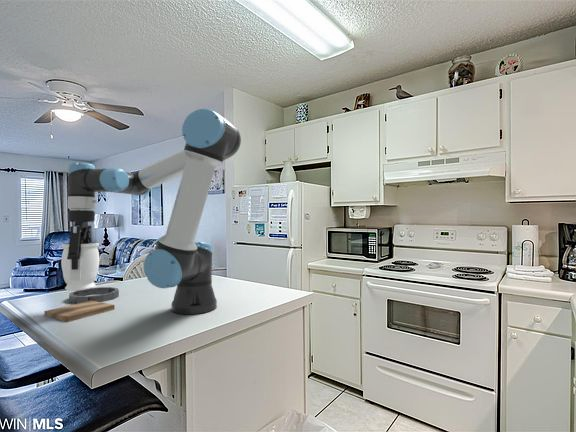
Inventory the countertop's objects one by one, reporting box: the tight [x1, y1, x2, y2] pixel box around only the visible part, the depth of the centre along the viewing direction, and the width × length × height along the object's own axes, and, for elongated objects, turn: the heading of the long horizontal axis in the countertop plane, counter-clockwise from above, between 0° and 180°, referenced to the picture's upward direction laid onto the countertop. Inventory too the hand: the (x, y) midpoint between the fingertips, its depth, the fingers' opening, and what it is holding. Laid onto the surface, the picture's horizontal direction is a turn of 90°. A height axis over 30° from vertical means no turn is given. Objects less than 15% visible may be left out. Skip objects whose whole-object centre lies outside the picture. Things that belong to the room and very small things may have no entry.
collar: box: [68, 286, 120, 304], centre depth 125 cm, size 16×16×2 cm
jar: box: [60, 241, 100, 292], centre depth 106 cm, size 11×10×15 cm
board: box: [43, 301, 116, 323], centre depth 106 cm, size 13×15×2 cm
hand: (81, 276), depth 106 cm, fingers closed on jar, 10 cm apart
